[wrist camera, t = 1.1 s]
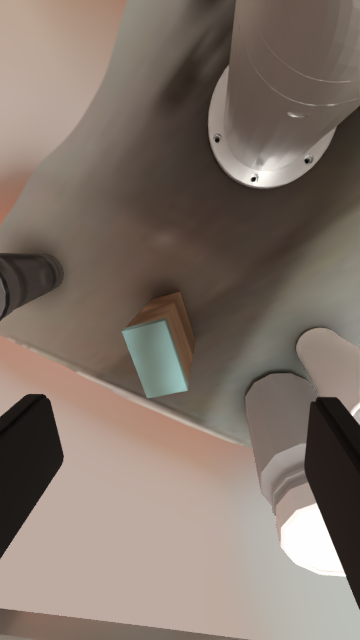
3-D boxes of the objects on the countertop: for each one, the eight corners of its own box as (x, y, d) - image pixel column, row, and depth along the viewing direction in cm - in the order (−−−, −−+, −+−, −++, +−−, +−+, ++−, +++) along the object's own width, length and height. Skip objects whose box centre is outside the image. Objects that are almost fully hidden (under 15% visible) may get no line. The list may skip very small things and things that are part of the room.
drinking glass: (350, 322, 32) (461, 392, 18) (337, 371, 34) (427, 467, 20) (293, 318, 33) (357, 383, 18) (284, 366, 35) (335, 457, 21)
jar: (303, 433, 38) (378, 596, 21) (236, 420, 38) (256, 567, 21) (325, 375, 34) (435, 512, 18) (252, 362, 35) (290, 481, 18)
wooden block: (180, 291, 33) (164, 320, 22) (195, 340, 35) (187, 390, 24) (151, 299, 34) (121, 331, 23) (167, 346, 36) (147, 398, 25)
